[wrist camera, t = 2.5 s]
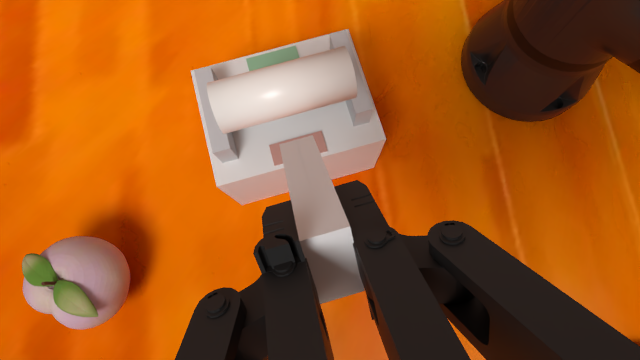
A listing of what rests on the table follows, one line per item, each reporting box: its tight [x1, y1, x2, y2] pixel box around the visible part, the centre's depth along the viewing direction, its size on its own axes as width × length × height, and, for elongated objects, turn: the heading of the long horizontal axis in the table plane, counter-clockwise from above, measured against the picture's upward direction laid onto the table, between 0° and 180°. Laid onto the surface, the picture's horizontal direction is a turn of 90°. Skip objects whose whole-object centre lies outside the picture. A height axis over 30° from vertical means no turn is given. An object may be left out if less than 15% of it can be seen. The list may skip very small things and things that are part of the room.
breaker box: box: [191, 29, 386, 205], centre depth 39 cm, size 12×16×13 cm
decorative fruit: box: [22, 236, 130, 329], centre depth 37 cm, size 9×8×10 cm
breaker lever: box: [207, 46, 357, 134], centre depth 28 cm, size 3×10×15 cm, turn 105°
